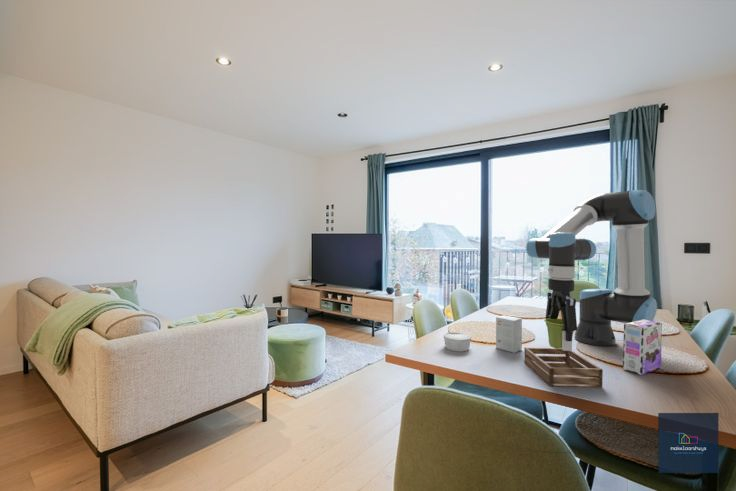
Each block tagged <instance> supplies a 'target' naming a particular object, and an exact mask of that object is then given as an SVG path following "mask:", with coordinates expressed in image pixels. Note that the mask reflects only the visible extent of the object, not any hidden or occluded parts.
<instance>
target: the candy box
mask: <svg viewBox="0 0 736 491" xmlns="http://www.w3.org/2000/svg"><path fill="white" fill-rule="evenodd" d="M662 330H663V323H662V322H659V321H656V320H655V321H654V320H653V321H650V320H644V319H642V320H639V321H635V322H630V323H623V341H622V342H623V346H622V350H623V352H622V353H623V354H622V370H624V371H626V372H631V373H634V374H636V375H640V376H643V375H646V374H649V373H652V372H654V371H656V370H655V369H657V368H660V367H661V368H662V337H663V336H662V334H663V333H662ZM661 368H660V369H661ZM653 370H654V371H653ZM657 370H658V369H657Z"/></svg>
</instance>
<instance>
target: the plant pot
mask: <svg viewBox="0 0 736 491" xmlns="http://www.w3.org/2000/svg"><path fill="white" fill-rule="evenodd" d="M544 322H545V326H546V327H547V336H548V344H549V346H550V348H557V349H559V348H562V329H564V325H563V321H562V318H558V319H550V318H548V319H546V318H545V319H544ZM573 334H574V331H572V337H573Z"/></svg>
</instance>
